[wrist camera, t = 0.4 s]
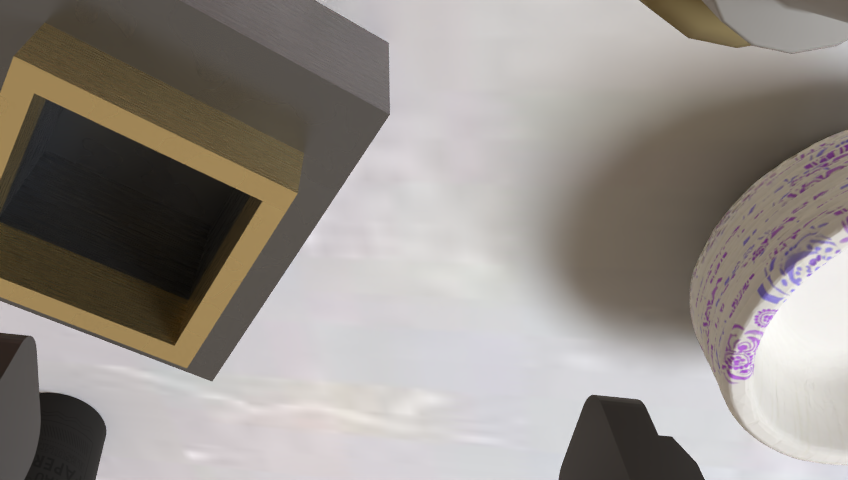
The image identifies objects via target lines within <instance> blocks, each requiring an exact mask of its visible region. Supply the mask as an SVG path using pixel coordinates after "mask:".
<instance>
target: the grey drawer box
mask: <svg viewBox="0 0 848 480" xmlns="http://www.w3.org/2000/svg"><path fill="white" fill-rule="evenodd" d="M389 115H390V98H389V43H387V42H386V41H384V40H382V39H381V38H379V37H377V36H375V35H374V34H372V33H370V32H368V31H367V30H365V29H363V28H362V27H360V26H358V25H356V24H355V23H353V22H351V21H349V20H348V19H346V18H344V17H343V16H341V15H339V14H337V13H336V12H334V11H332V10H330V9H329V8H327V7H325V6H323V5H322V4H320V3H318V2H317V1H315V0H0V301H2V302H5V303H8V304H10V305H13V306H15V307H18V308H21V309H23V310H26V311H29V312H31V313H34V314H36V315H39V316H42V317H44V318H47V319H50V320H52V321H55V322H57V323H60V324H63V325H65V326H68V327H71V328H73V329H76V330H78V331H81V332H84V333H86V334H89V335H92V336H94V337H97V338H99V339H102V340H105V341H107V342H110V343H113V344H115V345H118V346H120V347H123V348H126V349H128V350H131V351H134V352H136V353H139V354H141V355H144V356H147V357H149V358H152V359H155V360H157V361H160V362H163V363H165V364H168V365H170V366H173V367H176V368H178V369H181V370H184V371H186V372H189V373H191V374H194V375H197V376H199V377H202V378H205V379H207V380H210V381H213V379H214V378H215V376H216V375H217V373H218V372H219V370H220V369H221V367H222V366H223V364H224V363H225V361H226V360H227V358H228V357H229V355H230V354H231V352H232V351H233V349H234V348H235V346H236V345H237V343H238V342H239V340H240V339H241V337H242V336H243V334H244V333H245V331H246V330H247V328H248V327H249V325H250V324H251V322H252V321H253V319H254V318H255V316H256V315H257V313H258V312H259V310H260V309H261V307H262V306H263V304H264V303H265V301H266V300H267V298H268V297H269V295H270V294H271V292H272V291H273V289H274V288H275V286H276V285H277V283H278V282H279V280H280V279H281V277H282V276H283V274H284V273H285V271H286V270H287V268H288V267H289V265H290V264H291V262H292V261H293V259H294V258H295V256H296V255H297V253H298V252H299V250H300V249H301V247H302V246H303V244H304V243H305V241H306V240H307V238H308V237H309V235H310V234H311V232H312V231H313V229H314V228H315V226H316V225H317V223H318V222H319V220H320V219H321V217H322V216H323V214H324V213H325V211H326V210H327V208H328V207H329V205H330V204H331V202H332V201H333V199H334V197H335V196H336V194H337V193H338V191H339V190H340V188H341V187H342V185H343V184H344V182H345V181H346V179H347V178H348V176H349V175H350V173H351V172H352V170H353V169H354V167H355V166H356V164H357V163H358V161H359V160H360V158H361V157H362V155H363V154H364V152H365V151H366V149H367V148H368V146H369V145H370V143H371V142H372V140H373V139H374V137H375V136H376V134H377V133H378V131H379V130H380V128H381V127H382V125H383V124H384V122H385V121H386V119H387V118H388V116H389Z"/></svg>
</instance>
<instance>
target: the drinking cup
mask: <svg viewBox="0 0 848 480" xmlns="http://www.w3.org/2000/svg"><path fill="white" fill-rule="evenodd" d="M39 398H40V415H41V425H40V435H39V440H38V445H37V449H36V453H35V456H34V459H33V462H32V464H31V467H30V469H29V471H28V473H27V475H26V477H25V479H24V480H95V479H96V475H97V471H98V466H99V462H100V458H101V454H102V449H103V445H104V441H105V437H106V426H105V423H104V421H103V419H102V417H101V416H100V415H99V413H98V412H97V411H96V410H94V409H93V408H92V407H91V406H89V405H88V404H86V403H84V402H83V401H80V400H78V399H76V398H73V397H70V396H66V395H61V394H39Z"/></svg>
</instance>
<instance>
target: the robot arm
mask: <svg viewBox="0 0 848 480" xmlns="http://www.w3.org/2000/svg"><path fill="white" fill-rule="evenodd" d="M40 425H41V415H40V398H39V382H38V365H37V350H36V343H35V340H34V338H33V337H32V336H25V335H16V334H6V333H0V480H24V479H25V477H26V475H27V473H28V471H29V469H30V467H31V464H32V462H33V459H34V456H35V453H36V449H37V445H38V440H39V435H40ZM559 480H705V479H704V477H703V475H702V473H701V471H700V469H699V467H698V465H697V463H696V462H695V461H694V460H693V459H692V458H691V457H690V455H689V454H688V453H687V452H686V451H685V450H684V449H683V448H682V447H681V446H680V445H679V444H678V443H677V442H676V441H675V440H674V439H673V437H669V436H659V435H658V433H657V431H656V429H655V427H654V424H653V422H652V420H651V418H650V415H649V413H648V411H647V409H646V407H645V405H644V404H643V402H642V401H640V400H638V399H629V398H619V397H609V396H599V395H591V396H589V397H588V399H587V400H586V402H585V404H584V406H583V409H582V411H581V414H580V417H579V420H578V422H577V425H576V428H575V430H574V433H573V436H572V439H571V441H570V444H569V447H568V449H567V452H566V455H565V458H564V460H563V463H562V466H561V470H560V475H559Z"/></svg>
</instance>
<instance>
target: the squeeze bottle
mask: <svg viewBox="0 0 848 480" xmlns="http://www.w3.org/2000/svg"><path fill="white" fill-rule="evenodd" d="M640 1H641V2H642V3H643V4H645V5H646V6H647V7H648V8H650V9H651V10H652V11H654V12H655V13H656V14H657V15H659V16H660V17H661V18H663V19H664V20H665V21H667V22H668V23H669V24H671V25H672V26H673V27H675V28H676V29H677V30H679V31H680V32H681V33H682V34H684V35H685V36H686V37H688V38H691V39H696V40H701V41H706V42H711V43H716V44H720V45H725V46H730V47H735V48H740V47H745V46H751V45H752V46H757V47H761V48H766V49H771V50H776V51H781V52H786V53H791V54H794V53H799V52H805V51H810V50H816V49H821V48H827V47H832V46H837V45H839V44H841V43H843V42H845V41H846V40H848V0H640Z"/></svg>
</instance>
